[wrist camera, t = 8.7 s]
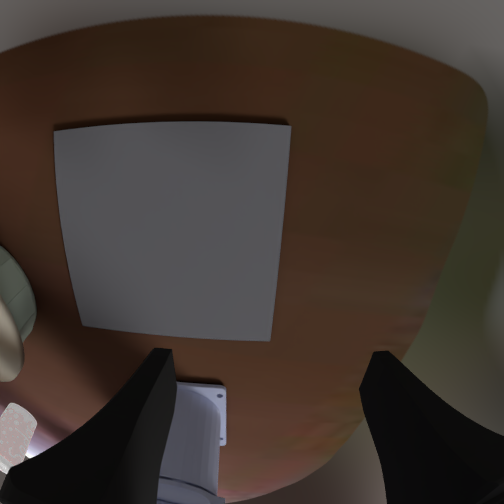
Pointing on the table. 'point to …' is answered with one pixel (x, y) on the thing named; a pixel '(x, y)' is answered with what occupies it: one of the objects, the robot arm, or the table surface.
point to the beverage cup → (15, 435)
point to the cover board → (9, 345)
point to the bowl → (17, 293)
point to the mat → (174, 225)
